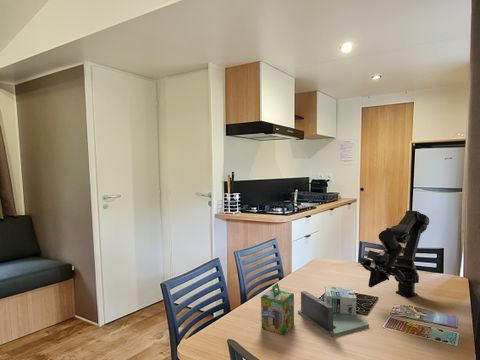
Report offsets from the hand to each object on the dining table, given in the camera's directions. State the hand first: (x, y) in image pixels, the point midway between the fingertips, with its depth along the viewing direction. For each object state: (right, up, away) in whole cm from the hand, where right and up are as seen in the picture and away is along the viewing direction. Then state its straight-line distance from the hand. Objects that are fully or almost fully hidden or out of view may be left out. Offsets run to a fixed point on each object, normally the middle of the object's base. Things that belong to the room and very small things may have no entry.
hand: (369, 286), depth 126 cm
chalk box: (-37, -10, -12) cm, 41 cm away
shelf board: (-17, -10, -7) cm, 21 cm away
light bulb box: (-6, -5, -1) cm, 8 cm away
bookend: (-23, -9, -10) cm, 26 cm away
